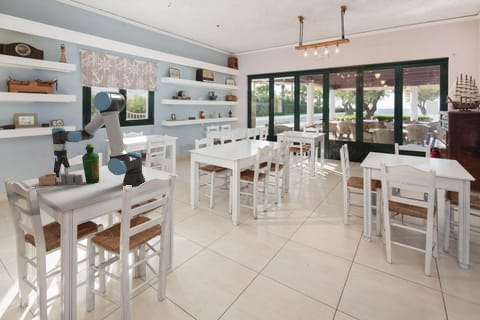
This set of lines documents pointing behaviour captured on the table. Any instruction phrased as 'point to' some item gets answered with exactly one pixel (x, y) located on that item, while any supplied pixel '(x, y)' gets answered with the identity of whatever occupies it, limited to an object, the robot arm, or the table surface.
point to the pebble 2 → (78, 179)
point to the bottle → (91, 165)
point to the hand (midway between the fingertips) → (63, 179)
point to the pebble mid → (70, 178)
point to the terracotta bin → (47, 180)
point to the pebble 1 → (63, 178)
